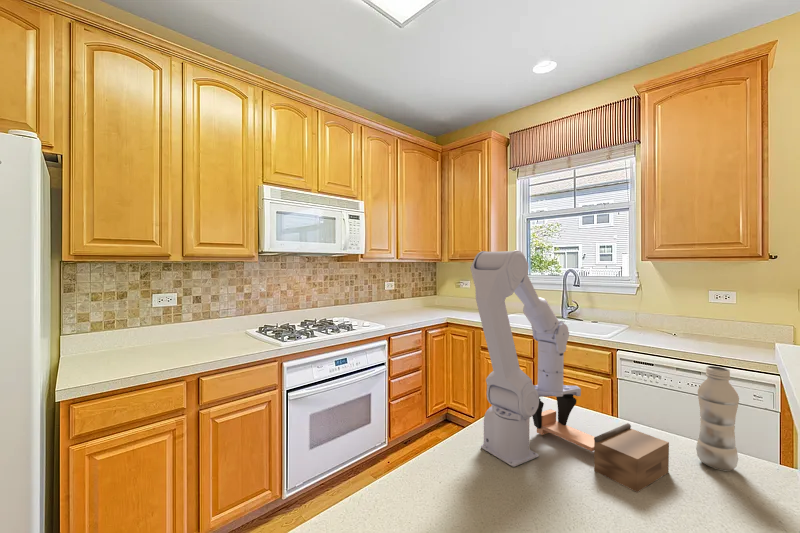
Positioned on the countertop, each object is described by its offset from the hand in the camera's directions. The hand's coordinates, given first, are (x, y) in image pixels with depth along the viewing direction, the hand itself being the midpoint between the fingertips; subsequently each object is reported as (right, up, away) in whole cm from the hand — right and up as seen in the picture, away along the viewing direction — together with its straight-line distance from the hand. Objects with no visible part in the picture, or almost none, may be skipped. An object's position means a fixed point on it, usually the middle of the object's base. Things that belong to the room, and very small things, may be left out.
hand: (550, 426), depth 89 cm
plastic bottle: (+28, -3, -14) cm, 32 cm away
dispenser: (+10, -2, -16) cm, 19 cm away
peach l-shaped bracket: (+3, -2, -4) cm, 5 cm away
